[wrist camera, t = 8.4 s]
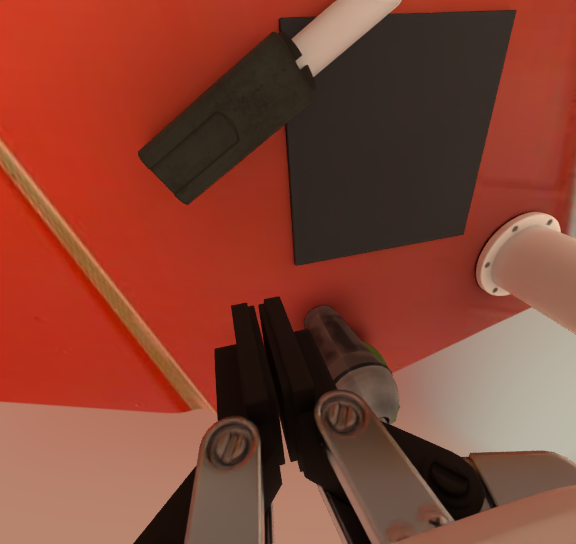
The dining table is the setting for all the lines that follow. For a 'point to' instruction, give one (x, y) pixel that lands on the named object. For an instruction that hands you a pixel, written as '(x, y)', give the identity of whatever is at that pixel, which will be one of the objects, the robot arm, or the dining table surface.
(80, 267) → the dining table surface
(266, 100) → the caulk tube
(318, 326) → the beverage cup
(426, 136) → the mat
